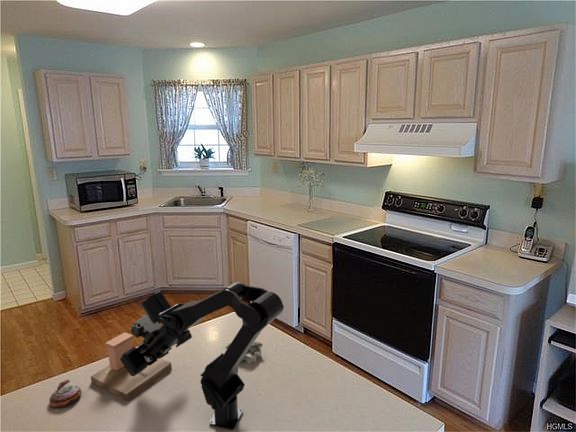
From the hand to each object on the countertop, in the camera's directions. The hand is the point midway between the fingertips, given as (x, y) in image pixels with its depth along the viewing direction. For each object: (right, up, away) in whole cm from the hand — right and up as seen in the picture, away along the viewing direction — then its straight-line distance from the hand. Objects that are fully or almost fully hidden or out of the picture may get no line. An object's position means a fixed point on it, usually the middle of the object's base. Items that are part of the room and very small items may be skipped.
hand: (142, 361), depth 112 cm
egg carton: (+27, -4, +14) cm, 31 cm away
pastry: (-19, -9, -6) cm, 21 cm away
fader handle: (-8, -3, +6) cm, 10 cm away
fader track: (-5, -6, +4) cm, 8 cm away
